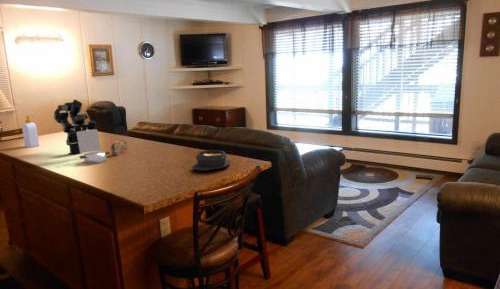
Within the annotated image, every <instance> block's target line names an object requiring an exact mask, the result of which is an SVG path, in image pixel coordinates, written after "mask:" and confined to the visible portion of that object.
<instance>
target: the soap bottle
mask: <svg viewBox="0 0 500 289" xmlns="http://www.w3.org/2000/svg"><path fill="white" fill-rule="evenodd" d="M31 117H34V115H31ZM25 118H26V119H25V122H24V123H22V126H21V129H22V136H23V143H24V147H26V148H35V147H39V146H40V143H39V136H38V128H37V125H36V123H34V122H32V119H30V115H26V116H25Z"/></svg>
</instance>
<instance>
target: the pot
mask: <svg viewBox="0 0 500 289" xmlns="http://www.w3.org/2000/svg"><path fill="white" fill-rule="evenodd" d="M107 155H110V151H108V150H107V151H91V152H85V153H83V155H79V159H84V164H86V165H97V164H98V165H99V164H102V163H103V164H104V163H105V162H107V157H106V156H107Z"/></svg>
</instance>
